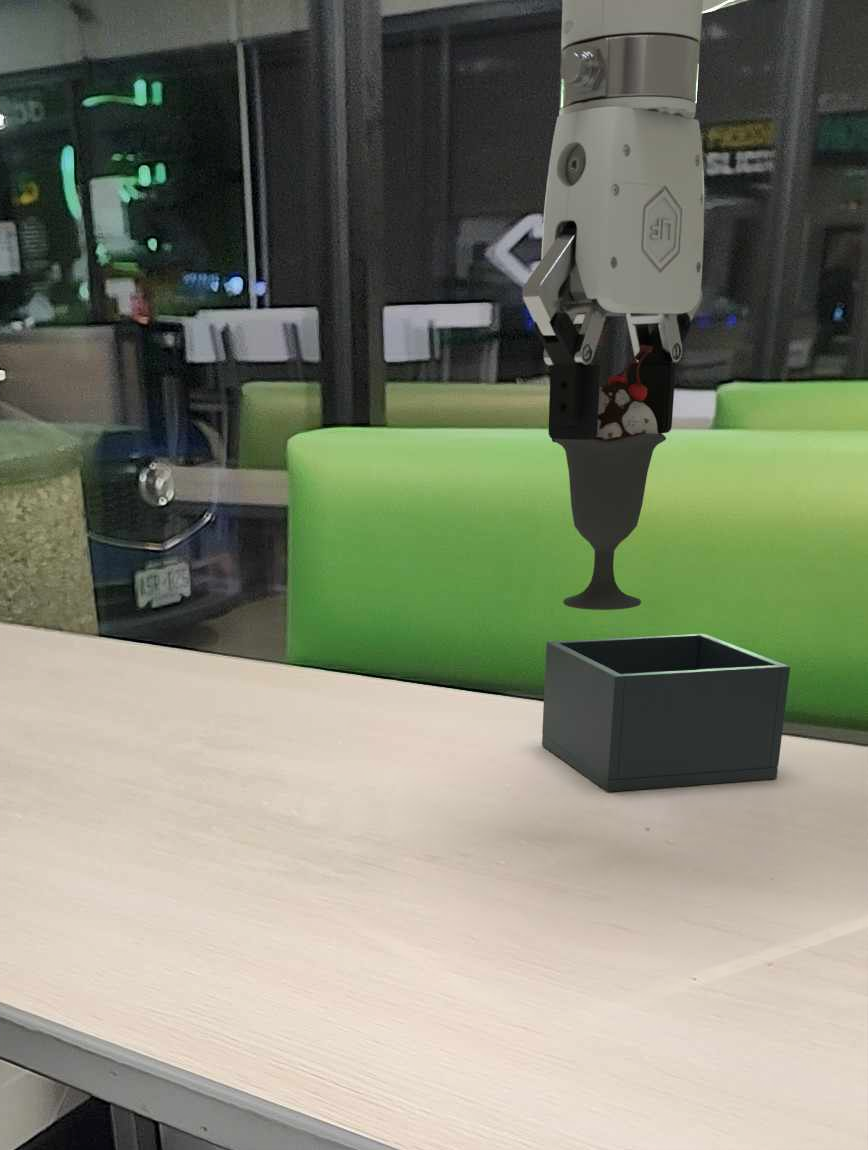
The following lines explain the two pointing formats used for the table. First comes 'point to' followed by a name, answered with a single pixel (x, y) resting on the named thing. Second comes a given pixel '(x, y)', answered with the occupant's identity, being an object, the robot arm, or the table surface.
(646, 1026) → the table surface
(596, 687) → the bin
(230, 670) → the table surface
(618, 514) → the sundae
